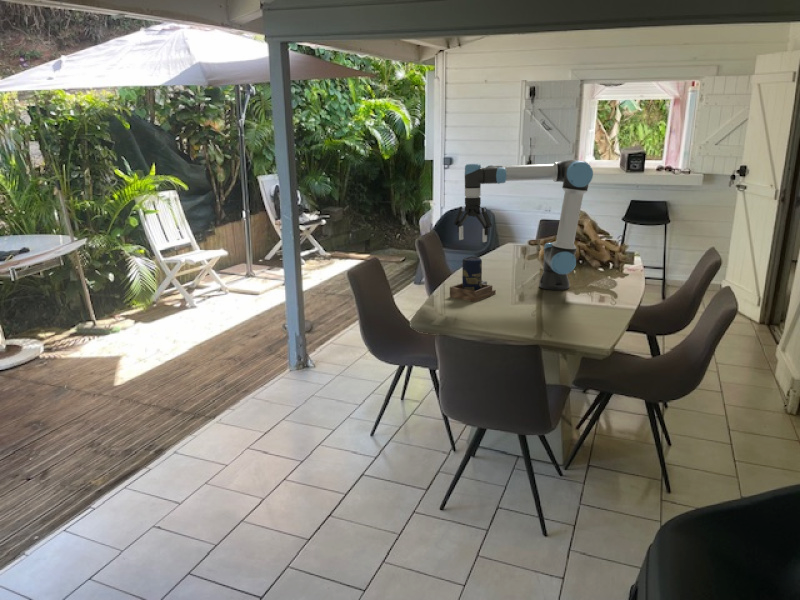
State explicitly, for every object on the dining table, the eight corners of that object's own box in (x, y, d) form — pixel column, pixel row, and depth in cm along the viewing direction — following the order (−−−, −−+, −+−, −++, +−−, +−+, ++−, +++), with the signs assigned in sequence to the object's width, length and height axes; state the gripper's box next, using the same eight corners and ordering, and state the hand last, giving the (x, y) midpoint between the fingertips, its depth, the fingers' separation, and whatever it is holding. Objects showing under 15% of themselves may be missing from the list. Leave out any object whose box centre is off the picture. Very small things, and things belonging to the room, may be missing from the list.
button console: (486, 288, 316) (487, 281, 315) (479, 290, 311) (479, 284, 310) (475, 286, 321) (475, 279, 320) (468, 288, 316) (468, 282, 315)
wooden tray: (495, 294, 305) (495, 284, 303) (474, 301, 292) (475, 291, 290) (470, 289, 314) (470, 280, 313) (449, 297, 301) (449, 287, 300)
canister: (480, 295, 296) (481, 258, 291) (461, 294, 298) (461, 258, 293) (482, 290, 305) (483, 254, 300) (463, 289, 307) (463, 254, 302)
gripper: (499, 197, 287) (499, 241, 292) (455, 195, 302) (456, 237, 308) (491, 198, 281) (490, 244, 287) (446, 196, 297) (447, 239, 302)
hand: (472, 240), depth 298 cm, fingers open, 13 cm apart
